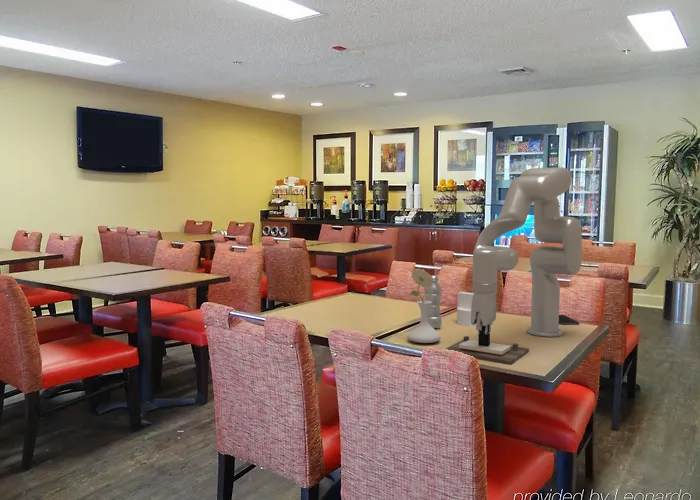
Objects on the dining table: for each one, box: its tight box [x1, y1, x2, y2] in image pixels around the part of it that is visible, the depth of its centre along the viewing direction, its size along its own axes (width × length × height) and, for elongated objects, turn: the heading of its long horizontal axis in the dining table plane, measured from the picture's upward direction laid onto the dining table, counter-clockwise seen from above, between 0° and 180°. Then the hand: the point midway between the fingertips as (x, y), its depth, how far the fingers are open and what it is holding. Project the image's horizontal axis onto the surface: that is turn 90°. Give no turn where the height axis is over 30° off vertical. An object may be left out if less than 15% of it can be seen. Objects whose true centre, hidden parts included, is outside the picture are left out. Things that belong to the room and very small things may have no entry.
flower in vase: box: [407, 268, 442, 344], centre depth 190 cm, size 13×11×25 cm
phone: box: [559, 314, 580, 326], centre depth 222 cm, size 8×1×15 cm
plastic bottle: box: [423, 274, 443, 329], centre depth 209 cm, size 6×7×20 cm
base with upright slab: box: [456, 291, 476, 327], centre depth 217 cm, size 9×9×12 cm
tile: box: [459, 339, 513, 355], centre depth 176 cm, size 9×14×1 cm, turn 55°
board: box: [445, 335, 530, 366], centre depth 177 cm, size 17×22×3 cm
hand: (484, 345), depth 175 cm, fingers closed
